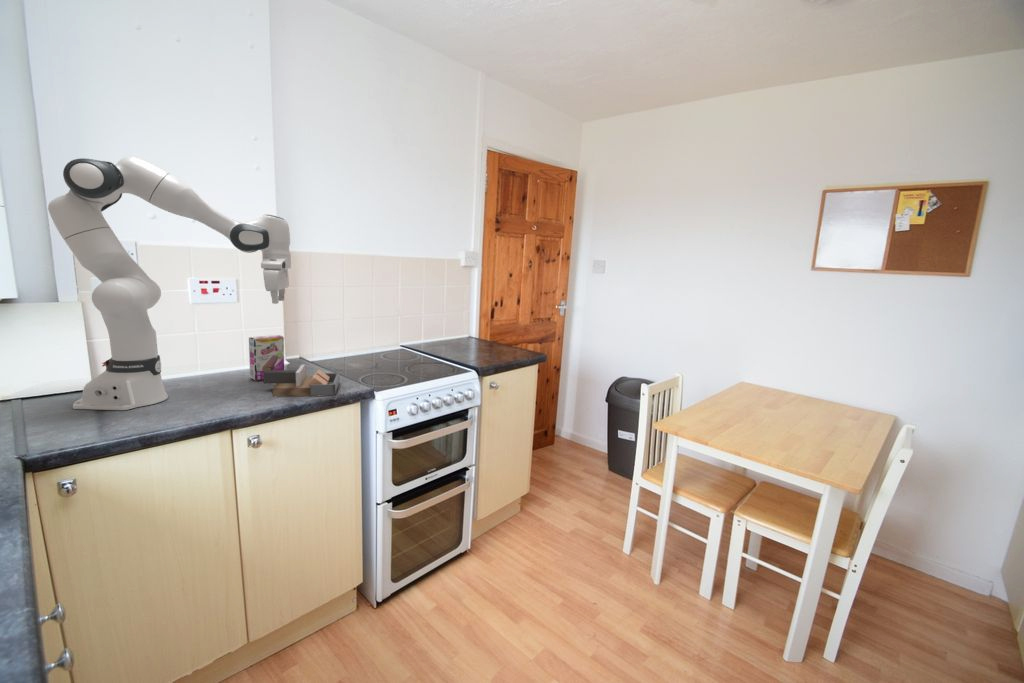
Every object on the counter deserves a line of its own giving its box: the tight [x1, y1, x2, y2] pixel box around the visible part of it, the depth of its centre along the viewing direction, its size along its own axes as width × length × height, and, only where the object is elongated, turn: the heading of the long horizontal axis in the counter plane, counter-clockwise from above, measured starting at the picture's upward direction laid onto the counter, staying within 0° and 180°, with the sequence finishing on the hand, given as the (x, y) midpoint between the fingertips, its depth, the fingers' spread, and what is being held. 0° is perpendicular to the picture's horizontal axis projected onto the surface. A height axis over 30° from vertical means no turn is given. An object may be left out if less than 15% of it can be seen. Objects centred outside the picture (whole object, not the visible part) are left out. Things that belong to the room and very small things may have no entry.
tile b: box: [312, 369, 330, 382], centre depth 165 cm, size 5×5×3 cm
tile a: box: [309, 374, 328, 385], centre depth 159 cm, size 5×5×3 cm
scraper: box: [263, 363, 307, 387], centre depth 158 cm, size 12×12×5 cm
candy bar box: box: [248, 334, 285, 382], centre depth 171 cm, size 11×5×16 cm, turn 144°
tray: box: [310, 372, 341, 397], centre depth 163 cm, size 8×16×4 cm, turn 16°
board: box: [272, 375, 313, 398], centre depth 160 cm, size 12×15×3 cm
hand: (278, 302), depth 159 cm, fingers open, 8 cm apart
